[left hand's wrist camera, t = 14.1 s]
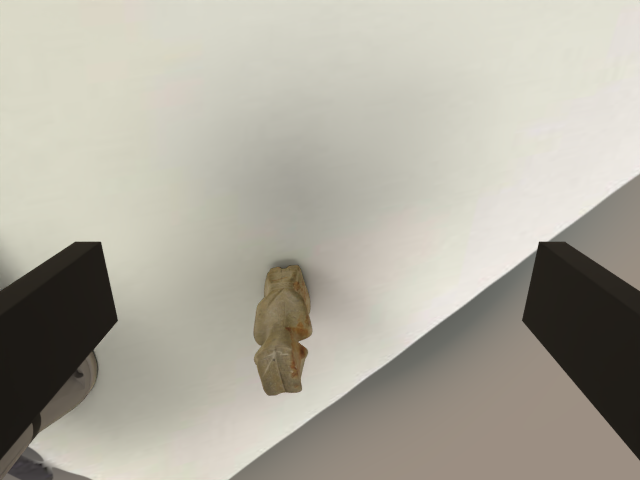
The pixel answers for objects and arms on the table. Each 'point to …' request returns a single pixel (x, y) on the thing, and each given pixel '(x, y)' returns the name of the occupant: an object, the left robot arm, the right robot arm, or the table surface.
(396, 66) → the table surface
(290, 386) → the sculpture
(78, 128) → the table surface
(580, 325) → the left robot arm
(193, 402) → the table surface
